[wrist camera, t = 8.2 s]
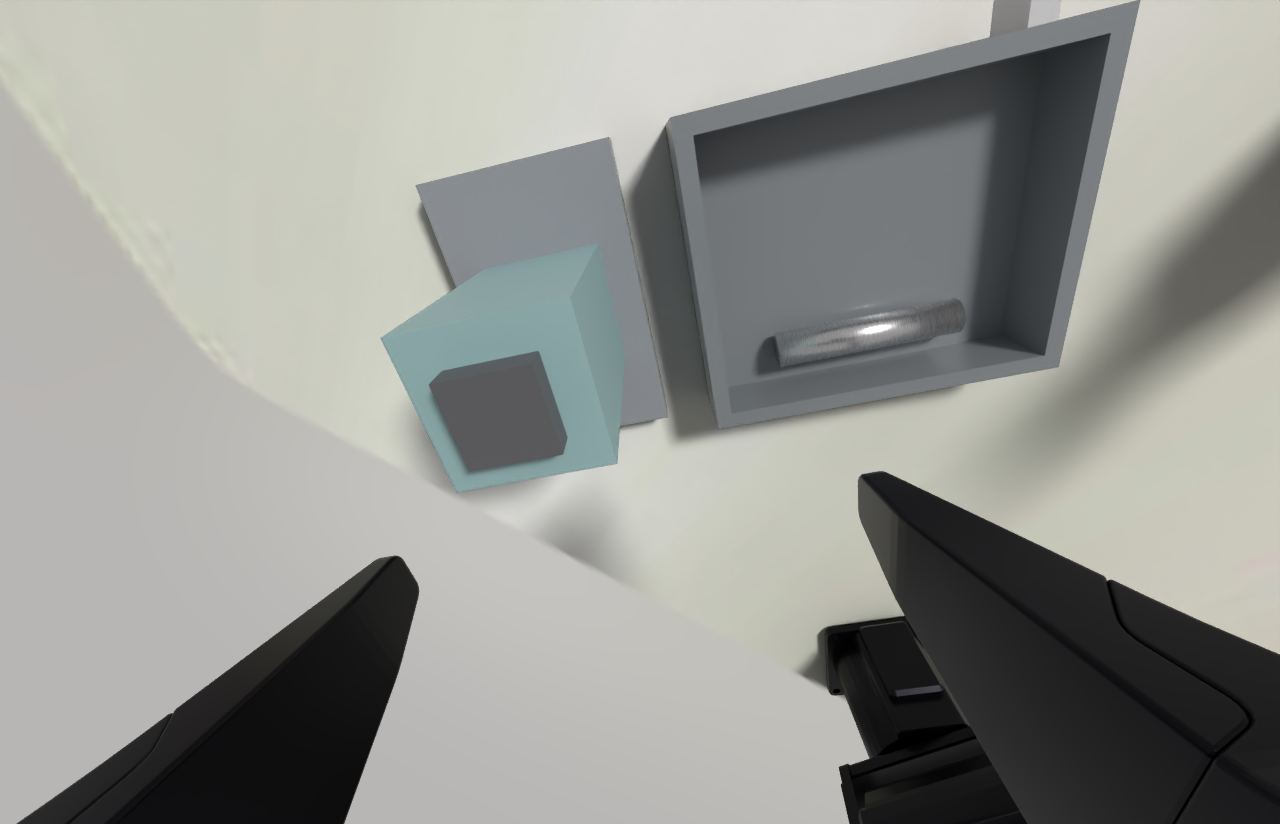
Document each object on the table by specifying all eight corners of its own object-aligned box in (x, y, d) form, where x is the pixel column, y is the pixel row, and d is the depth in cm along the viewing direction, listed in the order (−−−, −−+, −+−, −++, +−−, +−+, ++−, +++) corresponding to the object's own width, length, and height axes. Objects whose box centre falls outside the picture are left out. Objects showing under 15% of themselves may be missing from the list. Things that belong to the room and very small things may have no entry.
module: (625, 354, 19) (615, 481, 12) (521, 376, 20) (445, 512, 12) (598, 243, 17) (564, 306, 10) (483, 269, 18) (362, 350, 10)
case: (1003, 340, 20) (1058, 367, 18) (708, 396, 22) (718, 429, 19) (1059, -11, 15) (1150, -49, 12) (659, 92, 16) (664, 77, 13)
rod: (945, 331, 19) (966, 334, 18) (776, 364, 20) (784, 369, 19) (943, 297, 19) (965, 297, 18) (771, 332, 20) (779, 334, 18)
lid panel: (666, 404, 22) (667, 417, 21) (524, 432, 22) (518, 445, 21) (610, 138, 17) (608, 137, 16) (429, 184, 17) (415, 185, 16)
